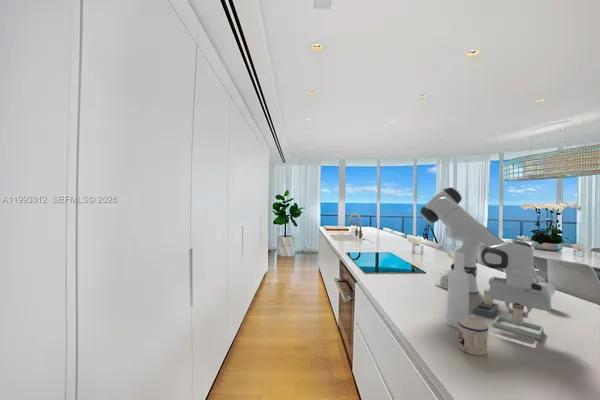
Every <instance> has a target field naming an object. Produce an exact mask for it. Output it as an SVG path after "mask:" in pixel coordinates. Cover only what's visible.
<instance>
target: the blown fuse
mask: <svg viewBox="0 0 600 400" xmlns="http://www.w3.org/2000/svg"><path fill="white" fill-rule="evenodd" d="M511 305H512V308H511V309H512V314H511V316H512V317H511V318H512V322H511V323H512V324H513V325H514V326H517V327H524V326H523V321H524V317H523V312H525V311H524V308H525V306H522V305H520V304H519V303H515V304H513V303H511Z"/></svg>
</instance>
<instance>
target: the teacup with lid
mask: <svg viewBox="0 0 600 400" xmlns="http://www.w3.org/2000/svg"><path fill="white" fill-rule="evenodd" d="M458 324H459V328H458V337H457V347H458V349H460V351H462V352H464V353H466V354H469V355H474V356H485V355H487V352H488V332H489V331H488V330H489V326H488V324H487V323H485V322H483V321H482V320H480V319H478V318H477V316H476V315H474V314H470V316H468V318H462V319H460V320H459V321H458Z"/></svg>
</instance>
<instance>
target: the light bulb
mask: <svg viewBox="0 0 600 400" xmlns="http://www.w3.org/2000/svg"><path fill="white" fill-rule="evenodd" d="M545 283H546V284H547V286H548V287H547V291H548V292H549V294H550V298H551V299H552V298H553V297H554V296H555V294H556V288H555V287H554V286H553V285H552V284H550V283H549V282H545Z"/></svg>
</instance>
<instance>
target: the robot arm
mask: <svg viewBox="0 0 600 400" xmlns="http://www.w3.org/2000/svg"><path fill="white" fill-rule="evenodd" d="M462 201H463V200H462V195H461V193H460V192H459V190H458V189H456V188H454V187H452V186H447V187H445V188H443V189H442V190H440V191H439V192H438V193H437V194H435V195H434V196H433V197H432V198H431V199H430V200H428V201H427V203H426V204H425V205H423V206H422V207H421V208H420V214H421V216H422V218H423V219H424V220H425V221H427V222H429V223H431V224H434V223H436V222H438V221H439V220H440V221H441V223H442V224H444V226H445V235H446V237H447V238H449V239H452V240H453V241H457V242H462V245H461V247H459V248H457V249H456V250H455V252H461V253H464V256H465V258H464V271H465V272H466V273H467V274H468V276H469V279H470V281H469V294H471V293H472V294H473V293H478V292H479V291H480V290H479V288H478V282H477V275H478V267H477V257H478V251H479V250H480V248H481V247H482V245H484V246H486V247H484V248H483V249H482V251H481V254H480V259H481V262H482V263H483V265H485V266H486V267H488V268H490V269H494V270H497V269H504V270H505V278H504V277H497V276H493V277H490V278H489V279H488V286H489V289H488V290H489V297H490V298H491V299H493V300H495V301H500V302H504V305H505V307H506V309H507V314H508V315H512V308H511V306H510V304H515V303H519V304H520V305H522V306H524V307H526V310H527V311H524V312H523V318H525V319H528V318H529V313H530V312H531V311H532V309H535V310H538V311H539V310H540V311H546V312H550V311H551V309H552V298H550V294H549V292H548V291H547V287H548V286H547V284H546V283H547V282H543V281H541V280H538V279H536V278H534V274H533V267H534V248H533V247H532V245H531V244H529V243H528V242H526V241H522V240H518V239H517V240H516V239H510V240H508V241H504V240H502V238H500V237H499V236H497V235H496V234H495V233H494V232H493V231H491V230H490V229H488V228H487V227H486V226H485V225H483V224H482V223H480V222H479V221H478V220H477V219H475V218H474V217H473V216H472V215H471V214H470V213H468V212H467V211H466V210H465V209H464V208H463V207H462V206H460V205H459V204H460V203H461V202H462ZM450 268H451V269H450V270H448V271H446V272H445V273H442V275H441V276H440V279H439V281H437V282H436V283H435V286H436V287H439V288H443V289H447V290H448V276H449V274H450V272H451V271H452V270H453V269H454V262H453V263H452V264H451V265H450Z"/></svg>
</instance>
